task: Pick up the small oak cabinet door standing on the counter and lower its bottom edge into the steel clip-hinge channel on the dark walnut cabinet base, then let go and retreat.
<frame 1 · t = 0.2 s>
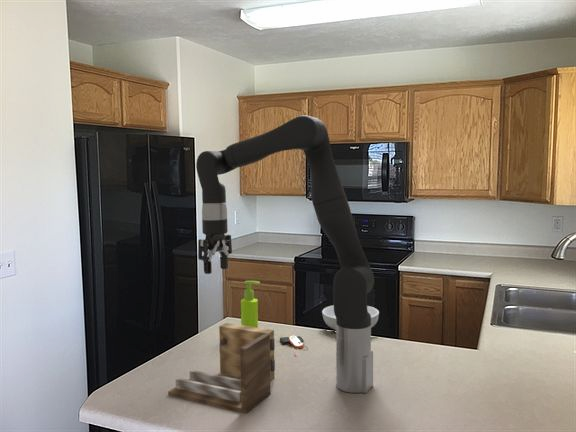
hand: (216, 271, 156), 28 cm above the worktop, fingers open, 8 cm apart
serving bowl: (350, 329, 190), on the worktop
hinge base: (219, 394, 135), on the worktop
oak door: (247, 375, 147), on the worktop
soap dispenser: (251, 336, 182), on the worktop
multimeter: (301, 349, 170), on the worktop
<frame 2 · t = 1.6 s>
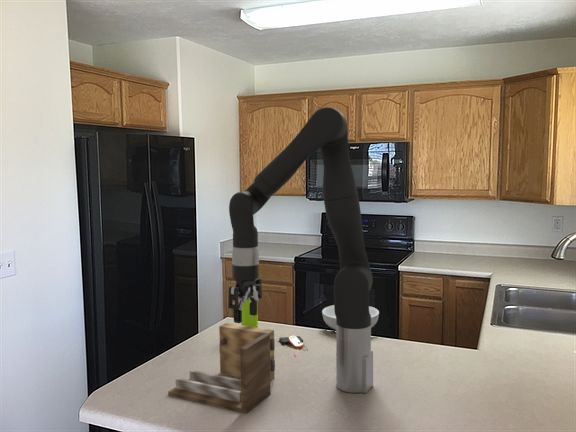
hand: (245, 318, 146), 17 cm above the worktop, fingers open, 8 cm apart
nothing on the worktop moved.
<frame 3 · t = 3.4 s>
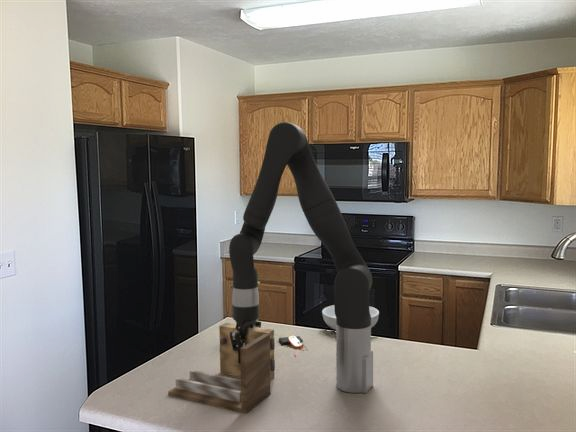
hand: (246, 361, 147), 4 cm above the worktop, fingers closed on oak door, 4 cm apart
oak door: (247, 375, 147), on the worktop, touching gripper
everything else where it was.
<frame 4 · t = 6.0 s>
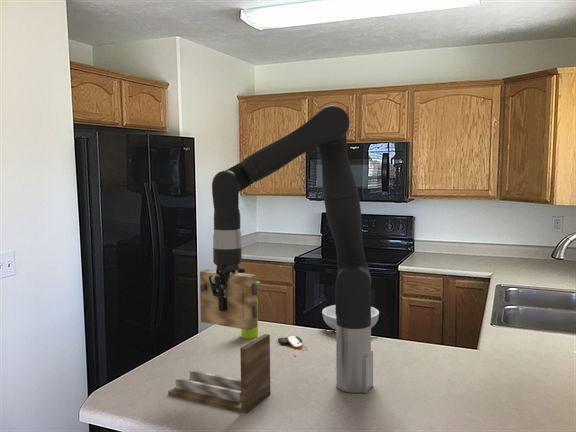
hand: (228, 308, 138), 22 cm above the worktop, fingers closed on oak door, 4 cm apart
oak door: (228, 324, 138), point 17 cm above the worktop, touching gripper
everything else where it was.
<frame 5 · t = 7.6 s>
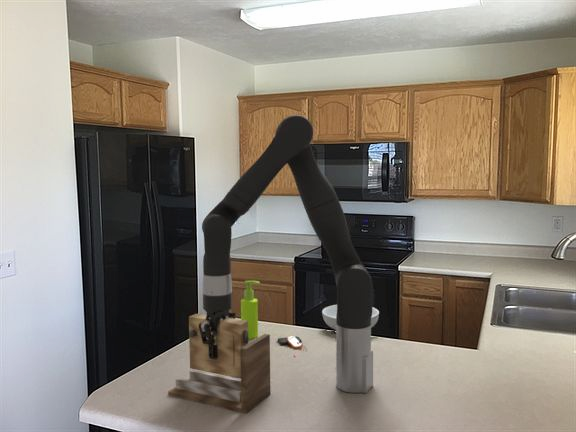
hand: (218, 355, 134), 11 cm above the worktop, fingers closed on oak door, 4 cm apart
oak door: (218, 371, 134), point 6 cm above the worktop, touching gripper
everything else where it was.
when the fingers open (6 cm above the worktop, at t = 8.9 s): oak door stays where it is, resting on hinge base.
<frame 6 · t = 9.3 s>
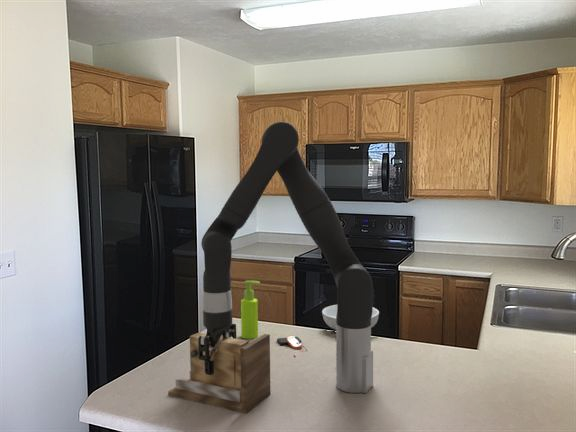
hand: (218, 368, 134), 7 cm above the worktop, fingers open, 8 cm apart
oak door: (219, 390, 135), point 1 cm above the worktop, touching hinge base
everything else where it was.
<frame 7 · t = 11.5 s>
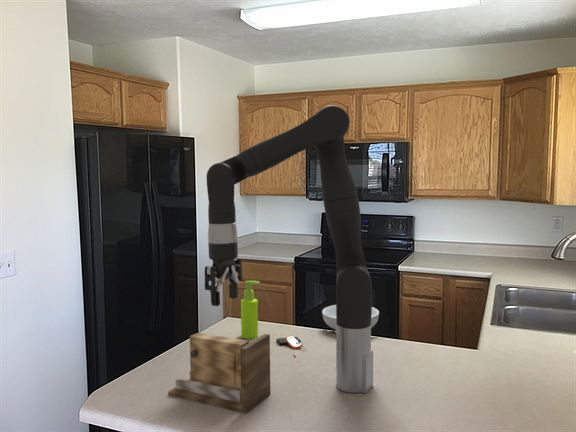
hand: (224, 301, 134), 24 cm above the worktop, fingers open, 8 cm apart
nothing on the worktop moved.
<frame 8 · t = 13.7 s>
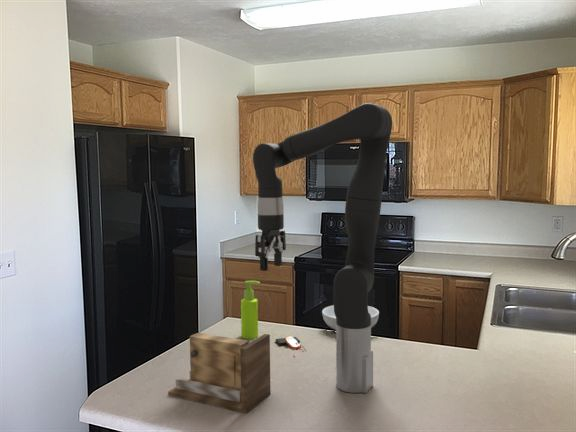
hand: (271, 268, 150), 30 cm above the worktop, fingers open, 8 cm apart
at the end: oak door 0.2 cm off-centre on the hinge base, point 1.0 cm above the hinge base's base; oak door tilted 0°; the gripper is holding nothing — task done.
